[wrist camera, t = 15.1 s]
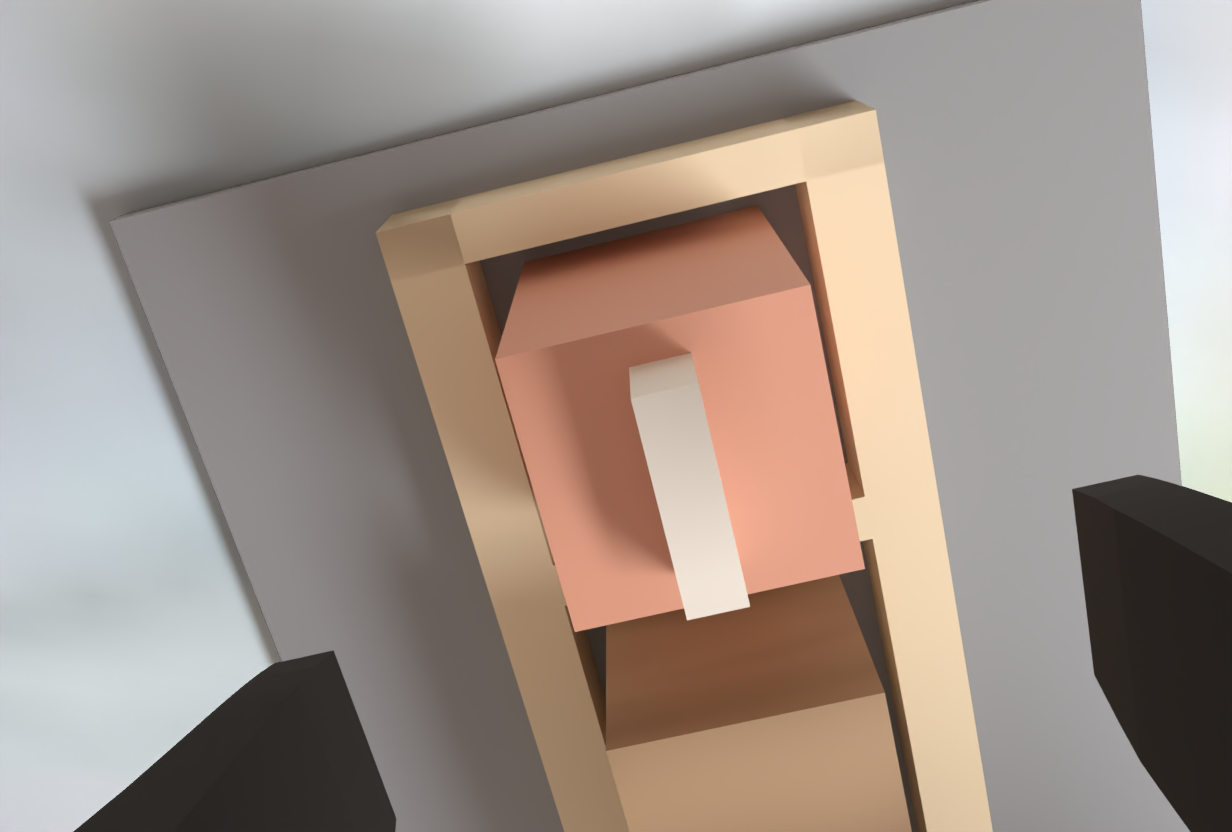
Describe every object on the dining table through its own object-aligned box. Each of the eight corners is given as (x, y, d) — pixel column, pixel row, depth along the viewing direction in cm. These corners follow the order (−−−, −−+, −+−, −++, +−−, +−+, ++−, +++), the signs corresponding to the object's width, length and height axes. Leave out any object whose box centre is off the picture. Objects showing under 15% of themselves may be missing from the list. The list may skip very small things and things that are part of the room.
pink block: (802, 424, 21) (884, 614, 15) (582, 474, 21) (572, 680, 15) (757, 205, 20) (827, 310, 13) (524, 262, 20) (485, 390, 14)
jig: (1203, 888, 25) (1254, 965, 23) (440, 1034, 27) (427, 1118, 25) (1122, -36, 19) (1181, -39, 17) (122, 215, 20) (70, 240, 18)
